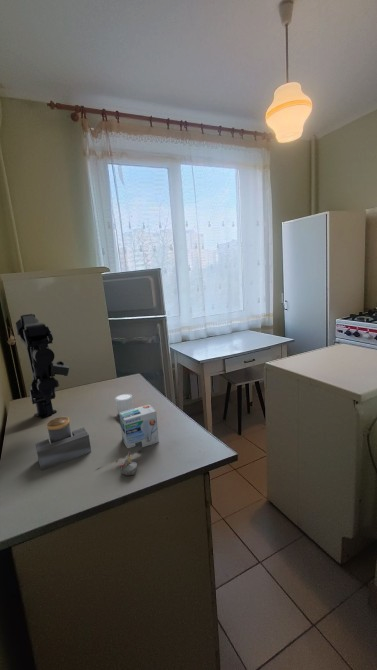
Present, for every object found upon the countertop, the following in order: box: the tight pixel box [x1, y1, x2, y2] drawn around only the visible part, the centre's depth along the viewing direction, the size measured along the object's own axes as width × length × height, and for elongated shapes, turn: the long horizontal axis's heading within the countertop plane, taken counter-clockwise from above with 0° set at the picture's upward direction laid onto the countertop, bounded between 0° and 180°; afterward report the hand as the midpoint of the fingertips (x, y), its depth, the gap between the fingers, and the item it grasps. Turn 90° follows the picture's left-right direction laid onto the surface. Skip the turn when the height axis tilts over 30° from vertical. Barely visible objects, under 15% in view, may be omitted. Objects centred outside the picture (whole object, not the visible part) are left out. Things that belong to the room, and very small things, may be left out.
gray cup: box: [45, 416, 72, 444], centre depth 90 cm, size 6×6×10 cm
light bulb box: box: [119, 404, 160, 449], centre depth 95 cm, size 11×7×11 cm, turn 118°
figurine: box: [120, 450, 138, 476], centre depth 81 cm, size 5×4×6 cm
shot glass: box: [114, 393, 134, 417], centre depth 117 cm, size 7×7×7 cm
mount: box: [34, 427, 92, 471], centre depth 93 cm, size 18×16×7 cm
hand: (48, 401), depth 107 cm, fingers closed
